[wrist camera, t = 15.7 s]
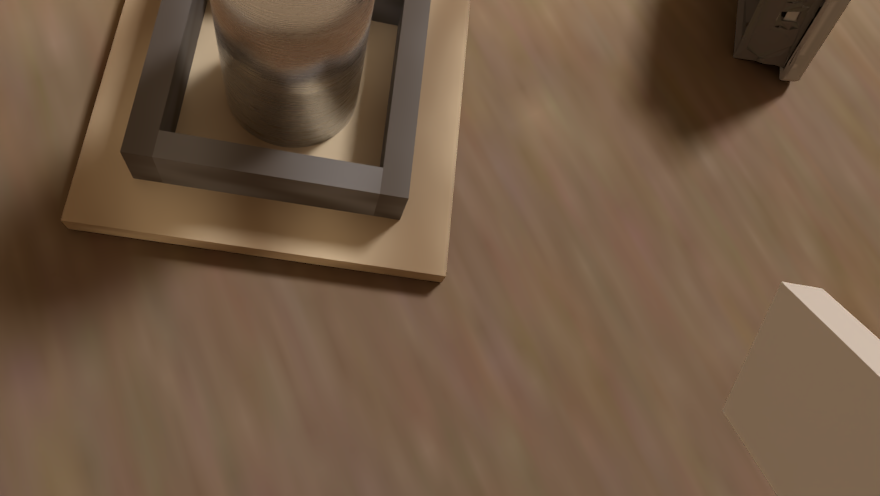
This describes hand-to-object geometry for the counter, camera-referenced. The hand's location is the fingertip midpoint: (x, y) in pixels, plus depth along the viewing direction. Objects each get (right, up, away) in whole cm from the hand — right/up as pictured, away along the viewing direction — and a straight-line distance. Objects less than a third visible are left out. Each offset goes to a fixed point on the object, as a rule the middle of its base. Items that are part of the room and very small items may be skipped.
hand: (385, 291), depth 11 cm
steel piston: (-6, +8, +21) cm, 23 cm away
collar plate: (-6, +8, +22) cm, 24 cm away
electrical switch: (+19, +14, +30) cm, 38 cm away
